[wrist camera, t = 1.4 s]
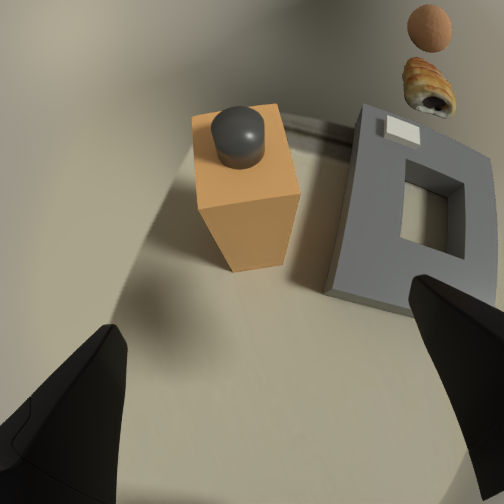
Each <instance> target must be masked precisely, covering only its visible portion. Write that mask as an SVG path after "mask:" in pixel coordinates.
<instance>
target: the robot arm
mask: <svg viewBox="0 0 504 504" xmlns="http://www.w3.org/2000/svg"><path fill="white" fill-rule="evenodd" d="M408 302H409V306H410V308H411V311H412V313H413V316H414V318H415V321H416V323H417V326H418V329H419V331H420V334H421V337H422V339H423V342H424V344H425V346H426V348H427V351H428V353H429V355H430V357H431V359H432V361H433V363H434V365H435V368H436V370H437V372H438V374H439V376H440V379H441V381H442V383H443V385H444V388H445V390H446V393H447V395H448V397H449V400H450V402H451V405H452V407H453V410H454V412H455V415H456V417H457V420H458V423H459V425H460V428H461V431H462V434H463V436H464V439H465V442H466V445H467V448H468V450H469V455H470V458H471V461H472V464H473V468H474V471H475V475H476V478H477V482H478V485H479V489H480V493H481V497H482V500H483V501H484V500H487V499H489V498H490V497H493V496H495V495H497V494H498V493H500V492H502V491H504V312H502V311H500V310H499V309H497V308H495V307H493V306H491V305H489V304H487V303H485V302H483V301H481V300H479V299H477V298H475V297H473V296H471V295H469V294H467V293H465V292H463V291H461V290H459V289H456V288H454V287H452V286H450V285H448V284H446V283H444V282H442V281H440V280H438V279H435V278H433V277H431V276H429V275H427V274H421V275H417V276H415V277H413V279H412V283H411V287H410V292H409V296H408ZM127 352H128V348H127V343H126V341H125V339H124V338H123V336H122V334H121V332H120V331H119V329H118V327H117V326H116V325H115V324H106V325H102V326H101V327H100V328H99V329H98V330H97V331H96V332H95V333H94V334H93V335H92V336H91V337H90V338H88V339H87V340H86V341H85V342H84V343H83V344H82V345H81V346H80V347H79V348H78V349H77V350H76V351H75V352H74V353H73V354H72V355H71V356H70V357H69V358H68V359H67V360H66V361H65V362H64V363H63V364H62V365H61V366H60V367H59V368H58V369H57V370H55V371H54V372H53V373H52V374H51V375H50V376H49V377H48V378H47V380H46V381H45V382H44V383H43V384H42V385H41V386H40V387H39V388H38V389H37V390H36V391H35V392H34V393H33V394H32V395H31V397H29V398H28V399H27V400H26V401H25V402H24V403H23V404H22V405H21V406H20V407H19V408H18V409H17V410H16V411H15V412H14V413H13V414H12V415H11V416H10V417H9V418H8V419H7V420H6V421H5V422H4V423H3V424H2V425H1V426H0V504H116V485H117V466H118V453H119V441H120V431H121V422H122V414H123V406H124V399H125V389H126V368H127Z"/></svg>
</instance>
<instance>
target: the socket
mask: <svg viewBox="0 0 504 504" xmlns="http://www.w3.org/2000/svg"><path fill="white" fill-rule="evenodd" d="M405 181H407V182H409V183H412V184H415V185H417V186H420V187H423V188H425V189H428V190H430V191H433V192H435V193H438V194H440V195H442V196H445V197H447V198H448V222H447V244H446V253H444V252H441V251H438V250H435V249H432V248H430V247H427V246H424V245H421V244H418V243H415V242H412V241H409V240H406V239H403V238H400V233H401V224H402V213H403V201H404V186H405ZM497 265H498V232H497V212H496V199H495V190H494V182H493V174H492V168H491V161H490V158H488V157H486V156H484V155H483V154H481V153H479V152H477V151H475V150H473V149H471V148H470V147H468V146H466V145H463V144H462V143H460V142H458V141H456V140H454V139H452V138H450V137H447V136H445V135H443V134H441V133H439V132H436V131H434V130H432V129H430V128H428V127H425V126H423V125H420V124H418V123H416V122H413V121H410V120H408V119H406V118H403V117H400V116H398V115H395V114H392V113H389V112H387V111H384V110H381V109H378V108H375V107H372V106H369V105H366V104H363V106H362V108H361V111H360V113H359V116H358V119H357V121H356V124H355V130H354V138H353V145H352V152H351V159H350V165H349V172H348V178H347V184H346V189H345V195H344V201H343V206H342V211H341V216H340V221H339V226H338V231H337V236H336V241H335V246H334V250H333V255H332V259H331V264H330V268H329V272H328V276H327V281H326V285H325V289H324V293H323V294H324V295H327V296H331V297H335V298H339V299H343V300H346V301H350V302H354V303H358V304H362V305H366V306H369V307H373V308H377V309H381V310H385V311H389V312H393V313H397V314H401V315H405V316H409V317H413V318H414V316H413V313H412V311H411V308H410V306H409V302H408V296H409V292H410V287H411V283H412V279H413V277H415V276H417V275H421V274H427V275H429V276H431V277H433V278H435V279H438V280H440V281H442V282H444V283H446V284H448V285H450V286H452V287H454V288H456V289H459V290H461V291H463V292H465V293H467V294H469V295H471V296H473V297H475V298H477V299H479V300H481V301H483V302H485V303H487V304H489V305H491V306H493V307H495V297H496V285H497Z"/></svg>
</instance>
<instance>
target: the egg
mask: <svg viewBox="0 0 504 504" xmlns="http://www.w3.org/2000/svg"><path fill="white" fill-rule="evenodd" d="M407 28H408V33H409V36H410V38H411V40H412V41H413V43H414V44H415V45H416V46H417V47H418V48H420V49H421V50H423V51H426V52H431V53H435V52H439V51H442V50H444V49H445V48H446V47H447V46H448V44H449V43H450V40H451V36H452V26H451V22H450V19H449V17H448V15H447V14H446V13H445V12H444V11H443V10H442V9H441V8H439V7H438V6H435V5H423V6H421V7H419V8H418V9H416V10H415V11H413V13H412V14H411V15H410V17H409V20H408V23H407Z"/></svg>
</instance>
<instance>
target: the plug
mask: <svg viewBox="0 0 504 504" xmlns="http://www.w3.org/2000/svg"><path fill="white" fill-rule="evenodd" d="M192 130H193V149H194V164H195V179H196V192H197V204H198V211H199V212H200V214H201V216H202V218H203V220H204V221H205V223H206V225H207V227H208V229H209V230H210V232H211V234H212V236H213V238H214V239H215V241H216V243H217V245H218V247H219V248H220V250H221V252H222V254H223V255H224V257H225V259H226V261H227V263H228V264H229V266H230V268H231V270H232V271H233V273H234V272H241V271H247V270H253V269H260V268H266V267H272V266H279V265H283V262H284V258H285V254H286V250H287V246H288V243H289V239H290V235H291V231H292V227H293V223H294V219H295V215H296V211H297V207H298V202H299V198H300V194H301V193H300V189H299V185H298V181H297V177H296V173H295V169H294V165H293V161H292V157H291V153H290V149H289V146H288V142H287V138H286V135H285V131H284V127H283V124H282V120H281V117H280V113H279V110H278V106H277V104H269V105H260V106H253V107H242V106H236V107H231V108H228V109H225V110H223V111H219V112H213V113H208V114H203V115H198V116H193V117H192Z"/></svg>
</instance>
